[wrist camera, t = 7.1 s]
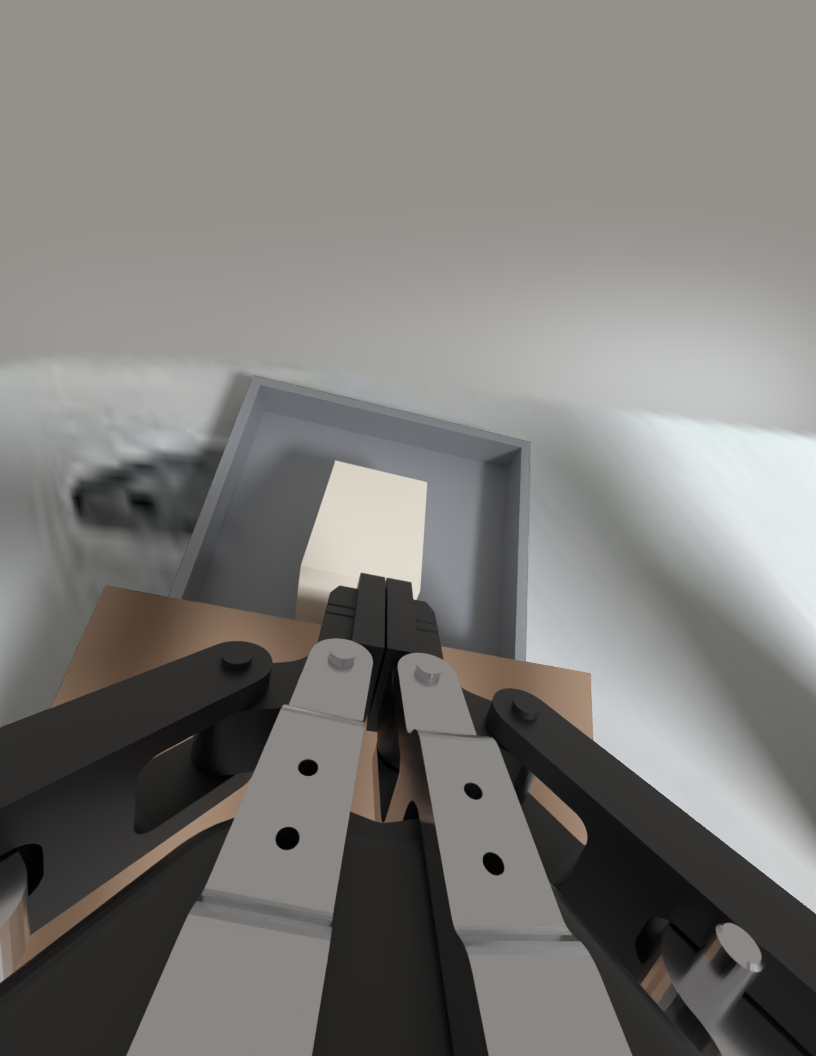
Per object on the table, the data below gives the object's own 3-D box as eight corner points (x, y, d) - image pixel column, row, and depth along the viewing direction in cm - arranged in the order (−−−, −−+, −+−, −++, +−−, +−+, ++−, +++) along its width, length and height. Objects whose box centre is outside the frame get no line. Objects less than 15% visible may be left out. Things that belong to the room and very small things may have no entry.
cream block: (394, 653, 22) (405, 545, 28) (420, 590, 19) (427, 482, 24) (292, 633, 22) (324, 527, 27) (300, 565, 18) (335, 460, 24)
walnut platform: (502, 693, 26) (590, 673, 18) (491, 972, 20) (608, 1124, 12) (174, 637, 24) (105, 585, 16) (68, 932, 18) (-119, 1083, 10)
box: (512, 466, 32) (530, 441, 30) (503, 684, 26) (525, 677, 23) (258, 406, 30) (253, 375, 28) (178, 627, 24) (161, 613, 21)
